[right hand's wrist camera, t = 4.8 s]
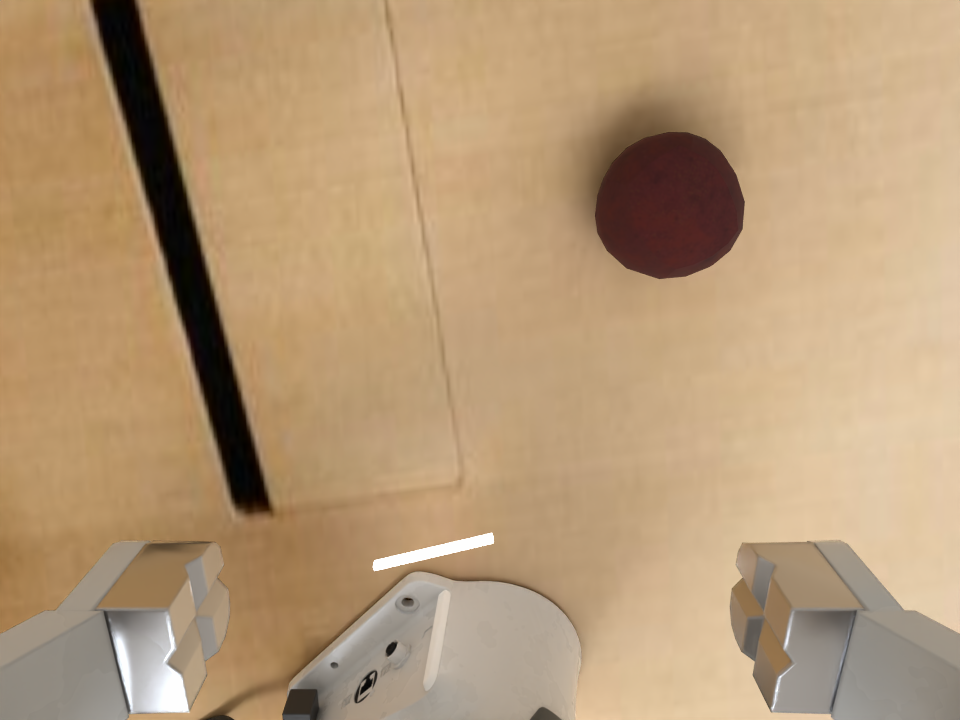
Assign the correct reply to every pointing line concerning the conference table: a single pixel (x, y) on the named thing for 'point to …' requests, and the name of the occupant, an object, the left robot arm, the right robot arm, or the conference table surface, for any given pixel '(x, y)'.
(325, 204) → the conference table surface
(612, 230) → the plum
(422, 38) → the conference table surface
